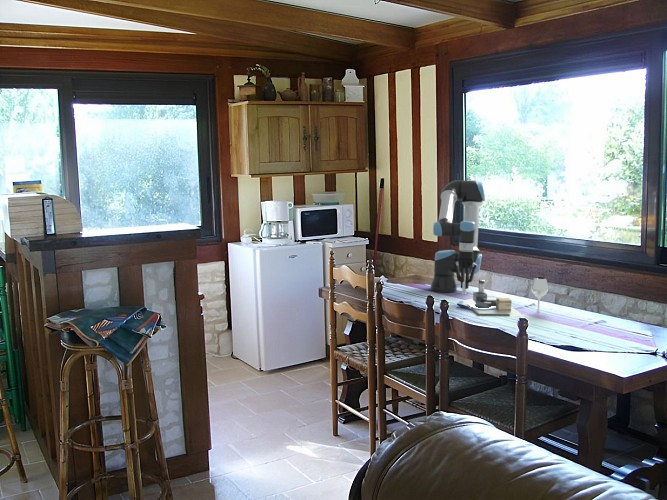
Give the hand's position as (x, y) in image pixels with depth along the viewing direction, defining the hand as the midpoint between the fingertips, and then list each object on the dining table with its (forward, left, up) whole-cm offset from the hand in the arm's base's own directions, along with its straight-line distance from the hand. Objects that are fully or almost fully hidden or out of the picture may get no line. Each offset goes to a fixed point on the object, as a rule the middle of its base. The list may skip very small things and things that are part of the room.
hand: (464, 294), depth 369 cm
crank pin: (+5, +8, -1) cm, 9 cm away
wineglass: (+19, +34, -5) cm, 39 cm away
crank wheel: (+8, +12, -4) cm, 15 cm away
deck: (+15, +12, -5) cm, 20 cm away
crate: (+17, +17, -5) cm, 24 cm away
